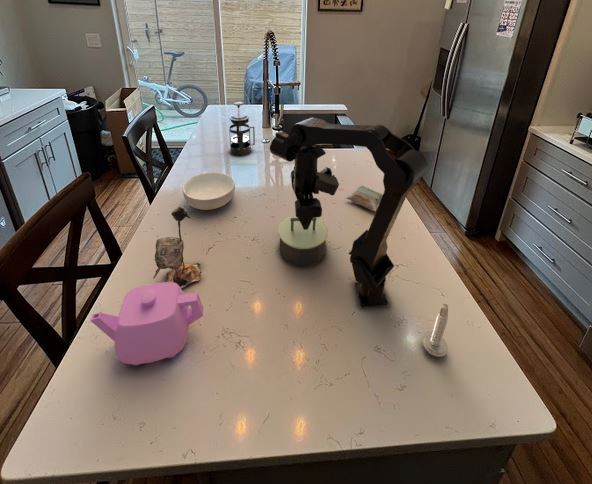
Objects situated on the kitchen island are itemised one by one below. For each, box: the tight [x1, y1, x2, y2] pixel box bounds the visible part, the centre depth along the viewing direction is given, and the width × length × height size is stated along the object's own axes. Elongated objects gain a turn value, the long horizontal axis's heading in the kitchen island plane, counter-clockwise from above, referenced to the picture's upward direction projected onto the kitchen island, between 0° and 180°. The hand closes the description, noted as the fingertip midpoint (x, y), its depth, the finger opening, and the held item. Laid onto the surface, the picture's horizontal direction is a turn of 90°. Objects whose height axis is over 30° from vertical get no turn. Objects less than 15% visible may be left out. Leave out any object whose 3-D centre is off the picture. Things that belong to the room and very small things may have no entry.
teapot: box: [90, 281, 204, 366], centre depth 66 cm, size 20×12×13 cm, turn 104°
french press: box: [228, 101, 256, 157], centre depth 143 cm, size 12×9×23 cm
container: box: [279, 238, 327, 268], centre depth 92 cm, size 13×13×6 cm
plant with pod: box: [152, 206, 202, 289], centre depth 79 cm, size 8×11×20 cm
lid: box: [277, 214, 329, 249], centre depth 90 cm, size 14×14×5 cm
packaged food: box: [344, 185, 383, 212], centre depth 113 cm, size 9×12×5 cm
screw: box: [421, 303, 449, 358], centre depth 65 cm, size 13×5×5 cm
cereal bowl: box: [182, 171, 236, 211], centre depth 111 cm, size 17×17×7 cm
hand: (303, 217), depth 89 cm, fingers open, 9 cm apart
